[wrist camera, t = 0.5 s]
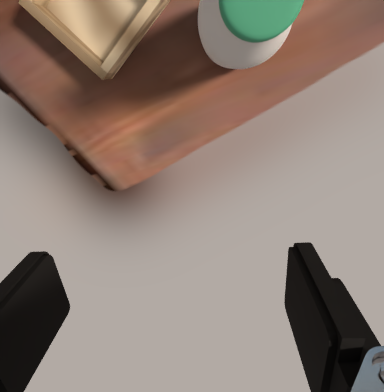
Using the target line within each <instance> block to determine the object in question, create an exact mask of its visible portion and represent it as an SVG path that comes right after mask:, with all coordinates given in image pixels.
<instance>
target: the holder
mask: <svg viewBox="0 0 384 392" xmlns="http://www.w3.org/2000/svg"><path fill="white" fill-rule="evenodd" d="M169 2H170V0H20V1H19V4H20V5H21V6H22V7H23V8H25V9H26V10H27V11H28V12H29V13H30V14H31V15H32V16H33V17H34V18H35V19H37V20H38V21H39V22H40V23H41V24H42V25H43V26H44V27H45V28H46V29H47V30H48V31H50V32H51V33H52V34H53V35H54V36H55V37H56V38H57V39H58V40H59V41H60V42H62V43H63V44H64V45H65V46H66V47H67V48H68V49H69V50H70V51H71V52H72V53H74V54H75V55H76V56H77V57H78V58H79V59H80V60H81V61H82V62H83V63H84V64H85V65H87V66H88V67H89V68H90V69H91V70H92V71H93V72H94V73H95V74H96V75H97V76H99V77H100V78H101V79H102V80H107V79H113V77H114V76H115V75H116V73H117V72H118V71H119V69H120V68H121V67H122V65H123V64H124V62H125V61H126V60H127V58H128V57H129V56H130V54H131V53H132V52H133V50H134V49H135V48H136V46H137V45H138V44H139V42H140V41H141V40H142V38H143V37H144V35H145V34H146V33H147V31H148V30H149V29H150V27H151V26H152V25H153V23H154V22H155V21H156V19H157V18H158V17H159V15H160V14H161V13H162V11H163V10H164V9H165V7H166V6H167V4H168V3H169Z"/></svg>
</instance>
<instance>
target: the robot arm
mask: <svg viewBox="0 0 384 392" xmlns="http://www.w3.org/2000/svg"><path fill="white" fill-rule="evenodd" d="M285 309H286V312H287V316H288V319H289V322H290V325H291V328H292V331H293V335H294V338H295V342H296V345H297V348H298V351H299V355H300V358H301V361H302V364H303V367H304V371H305V374H306V377H307V380H308V384H309V387H310V390H311V392H384V346H381V345H380V343H379V342H378V340H377V338H376V337H375V335H374V333H373V332H372V330H371V328H370V327H369V325H368V323H367V322H366V320H365V319H364V317H363V315H362V314H361V312H360V310H359V309H358V307H357V305H356V304H355V302H354V301H353V299H352V297H351V296H350V294H349V292H348V291H347V289H346V287H345V286H344V284H343V283H342V281H341V280H340V279H338V278H331V277H330V275H329V273H328V271H327V270H326V268H325V266H324V264H323V263H322V261H321V259H320V257H319V256H318V254H317V252H316V250H315V248H314V247H313V245H312V244H311V243H295V244H294V247H289V251H288V264H287V277H286V290H285ZM69 310H70V304H69V301H68V298H67V295H66V292H65V290H64V287H63V284H62V281H61V279H60V276H59V273H58V270H57V268H56V265H55V262H54V259H53V257H52V256H51V255H49V254H48V253H47V252H30V253H29V254H28V255H27V256H26V257H25V258H24V259H23V260H22V261H21V262H20V263H19V264H18V265H17V266H16V267H15V268H14V269H13V270H12V271H11V273H10V274H9V275H8V276H7V277H6V278H5V279H4V280H3V281H2V282H1V283H0V392H24V390H25V388H26V386H27V385H28V383H29V381H30V380H31V378H32V376H33V374H34V373H35V371H36V369H37V367H38V366H39V364H40V362H41V360H42V359H43V357H44V355H45V353H46V351H47V350H48V348H49V346H50V345H51V343H52V341H53V339H54V337H55V336H56V334H57V332H58V330H59V329H60V327H61V325H62V323H63V322H64V320H65V318H66V316H67V315H68V313H69Z"/></svg>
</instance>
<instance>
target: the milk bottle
mask: <svg viewBox="0 0 384 392" xmlns="http://www.w3.org/2000/svg"><path fill="white" fill-rule="evenodd" d="M303 2H304V0H200V3H199V8H198V30H199V35H200V39H201V42H202V45H203V48H204V50H205V52H206V54H207V55H208V56H209V58H210V59H211V60H212V61H213V62H215V63H216V64H218V65H220V66H222V67H225V68H230V69H246V68H250V67H254V66H257V65H259V64H261V63H263V62H265V61H266V60H268V59H269V58H270V57H271V56H273V55H274V54H275V53H276V52H277V50H278V49H279V48H280V47H281V46H282V44H283V43H284V41H285V40H286V38H287V36H288V34H289V31H290V29H291V26H292V23H293V22H294V20H295V19H296V17H297V15H298V14H299V12H300V10H301V7H302V5H303Z"/></svg>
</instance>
